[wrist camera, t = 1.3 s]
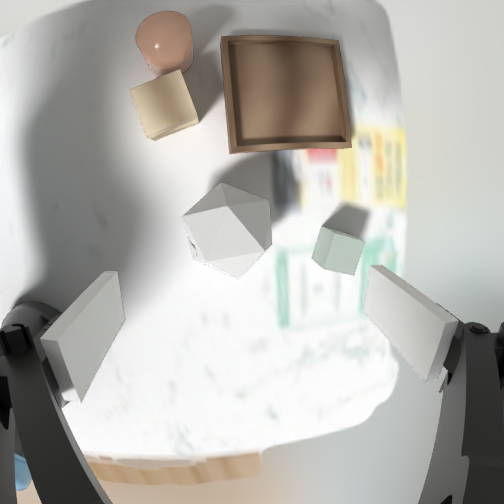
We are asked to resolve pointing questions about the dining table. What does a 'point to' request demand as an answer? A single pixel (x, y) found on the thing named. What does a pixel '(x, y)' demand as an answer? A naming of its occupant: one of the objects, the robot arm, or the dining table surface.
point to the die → (229, 229)
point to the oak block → (164, 105)
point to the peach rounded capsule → (166, 42)
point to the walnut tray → (284, 93)
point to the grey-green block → (337, 251)
